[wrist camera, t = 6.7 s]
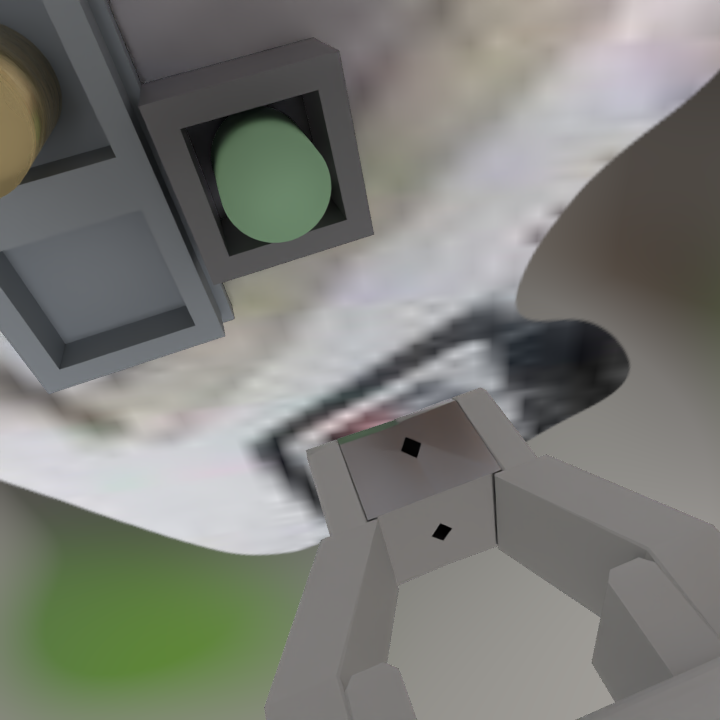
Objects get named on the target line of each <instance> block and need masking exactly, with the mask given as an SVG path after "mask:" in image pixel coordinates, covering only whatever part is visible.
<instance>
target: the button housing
mask: <svg viewBox="0 0 720 720" xmlns="http://www.w3.org/2000/svg"><path fill="white" fill-rule="evenodd" d="M299 95H302V97H303V101H304V106H305V110H306V114H307V118H308V122H309V127H310V131H311V135H312V139H313V143H314V147H315V148H316V149H317V150H318V152H319V153H320V154H321V155H322V157H323V159H324V160H325V162H326V165H327V167H328V170H329V173H330V178H331V196H330V200H329V204H328V206H327V209H326V211H325V213H324V215H323V216H322V218H321V219H320V221H319V222H318V223H317V224H316V225H315V227H313V228H312V229H311V230H310V231H309V232H307V233H306V234H304V235H302V236H301V237H299V238H296V239H294V240H291V241H287V242H280V243H270V242H263V241H259V240H256V239H254V238H251V237H249V236H248V235H246V234H244V233H243V232H241V231H240V230H239V229H238V228H237V227H236V226H235V225H234V224H233V223H232V222H231V221H230V219H229V218H228V217H227V218H224V219H220V217H219V214H218V212H217V209H216V206H215V204H214V201H213V199H212V196H211V193H210V191H209V188H208V185H207V183H206V180H205V177H204V175H203V172H202V170H201V167H200V164H199V162H198V159H197V156H196V154H195V151H194V148H193V146H192V143H191V140H190V138H189V135H188V133H187V130H186V127H189V126H193V125H196V124H200V123H203V122H207V121H210V120H214V119H217V118H221V117H225V116H228V115H232V114H235V113H239V112H242V111H246V110H249V109H253V108H256V107H260V106H263V105H267V104H270V103H274V102H277V101H281V100H284V99H288V98H291V97H295V96H299ZM138 107H139V109H140V111H141V114H142V116H143V119H144V121H145V123H146V126H147V128H148V130H149V133H150V135H151V138H152V140H153V142H154V145H155V147H156V149H157V152H158V154H159V157H160V159H161V161H162V164H163V166H164V168H165V171H166V173H167V176H168V178H169V180H170V183H171V185H172V187H173V190H174V192H175V194H176V197H177V199H178V202H179V204H180V206H181V209H182V211H183V213H184V216H185V218H186V221H187V223H188V225H189V228H190V230H191V232H192V235H193V237H194V240H195V242H196V244H197V247H198V249H199V251H200V254H201V256H202V259H203V261H204V263H205V266H206V268H207V270H208V273H209V275H210V277H211V280H212V282H213V285H217V284H220V283H223V282H226V281H229V280H232V279H235V278H239V277H242V276H245V275H248V274H251V273H254V272H257V271H261V270H264V269H267V268H270V267H273V266H276V265H279V264H283V263H286V262H289V261H292V260H295V259H298V258H302V257H305V256H308V255H311V254H314V253H317V252H320V251H324V250H327V249H330V248H333V247H336V246H339V245H342V244H346V243H349V242H352V241H355V240H358V239H361V238H364V237H368V236H371V235H374V232H373V226H372V221H371V216H370V211H369V205H368V200H367V195H366V190H365V184H364V179H363V174H362V169H361V163H360V158H359V153H358V147H357V142H356V137H355V132H354V126H353V121H352V116H351V111H350V105H349V100H348V95H347V90H346V84H345V79H344V74H343V69H342V63H341V58H340V53H339V51H338V50H336V49H334V48H333V47H331V46H329V45H327V44H325V43H323V42H321V41H319V40H317V39H316V38H310V39H306V40H303V41H299V42H295V43H292V44H288V45H284V46H281V47H277V48H273V49H270V50H266V51H262V52H259V53H255V54H251V55H248V56H244V57H240V58H237V59H233V60H229V61H226V62H222V63H218V64H215V65H211V66H207V67H204V68H200V69H196V70H193V71H189V72H185V73H182V74H178V75H174V76H171V77H167V78H163V79H160V80H156V81H152V82H149V83H145V84H141V91H140V98H139V106H138Z"/></svg>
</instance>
